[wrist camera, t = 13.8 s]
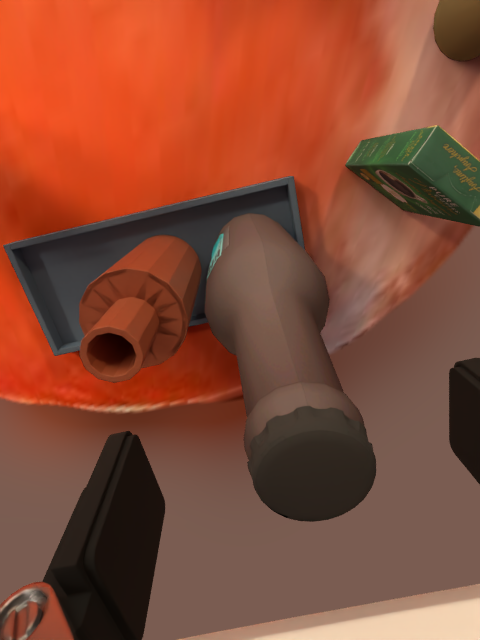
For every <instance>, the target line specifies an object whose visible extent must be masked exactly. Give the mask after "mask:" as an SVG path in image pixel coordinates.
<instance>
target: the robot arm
mask: <svg viewBox="0 0 480 640" xmlns="http://www.w3.org/2000/svg"><path fill="white" fill-rule="evenodd" d="M449 431H450V432H449V434H450V435H449V440H450V445H451V448H452V450H453V452H454V453H455V455H456V456H457V457H458V458H459V460H460V461H461V462H462V463H463V464H464V466H465V467H466V468H467V469H468V470H469V472H470V473H471V474H472V476H473V477H474V478H475V479H476V480H477V482H478V483H479V484H480V358H473V359H469V360H464V361H459V362H456V363H455V365H454V368H451V369H450V373H449ZM164 514H165V501H164V497H163V495H162V493H161V490H160V488H159V485H158V483H157V480H156V478H155V475H154V473H153V471H152V468H151V466H150V463H149V461H148V458H147V456H146V454H145V451H144V449H143V446H142V444H141V442H140V439H139V437H138V436H137V435H132V433H131V432H130V431H126V432H121V433H117V434H112V435H110V436H109V437H108V439H107V441H106V443H105V446H104V448H103V450H102V452H101V455H100V457H99V459H98V462H97V464H96V466H95V468H94V471H93V473H92V475H91V478H90V480H89V482H88V484H87V487H86V488H85V489H84V490H83V492H82V493H81V496H80V498H79V500H78V503H77V505H76V507H75V509H74V511H73V514H72V516H71V519H70V520H69V523H68V525H67V528H66V530H65V532H64V534H63V536H62V539H61V541H60V543H59V545H58V548H57V550H56V552H55V554H54V557H53V559H52V561H51V564H50V566H49V568H48V570H47V572H46V575H45V577H44V579H43V582H35V583H31V584H29V585H26V586H24V587H22V588H20V589H19V590H17V591H16V592H14V593H13V594H11V596H9V597H8V598H7V599H6V600H5V601H4V602H3V603H2V604H1V605H0V640H142V637H143V634H144V628H145V622H146V617H147V611H148V606H149V599H150V594H151V588H152V582H153V577H154V571H155V565H156V560H157V554H158V548H159V542H160V537H161V531H162V525H163V520H164ZM177 640H480V584H477V585H471V586H466V587H460V588H454V589H448V590H443V591H437V592H432V593H426V594H420V595H415V596H409V597H403V598H398V599H393V600H387V601H381V602H376V603H370V604H365V605H359V606H354V607H348V608H343V609H337V610H332V611H327V612H321V613H315V614H310V615H304V616H299V617H293V618H288V619H283V620H277V621H272V622H267V623H261V624H256V625H251V626H245V627H241V628H235V629H230V630H225V631H219V632H213V633H208V634H203V635H198V636H192V637H187V638H182V639H177Z"/></svg>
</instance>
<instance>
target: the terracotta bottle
mask: <svg viewBox="0 0 480 640" xmlns="http://www.w3.org/2000/svg"><path fill="white" fill-rule="evenodd" d="M201 271H202V270H201V264H200V260H199V258H198V256H197V254H196V252H195V251H194V249H193V248H192V247H191V246H190V245H189V244H188V243H187V242H185V241H184V240H182V239H180V238H178V237H175V236H171V235H156V236H153V237H150V238H147V239H146V240H145V241H143V242H142V243H141V244H139V245H138V246H137V247H135V248H134V249H133V250H132V251H130V252H129V253H128V254H127V255H125V256H124V257H123V258H122V259H120V260H119V261H118V262H117V263H115V264H114V265H113V266H112V267H110V268H109V269H108V270H107V271H105V272H104V273H103V274H102V275H100V276H99V277H98V278H97V279H95V280H94V281H93V282H92V283H90V284H89V285H88V287H87V289H86V291H85V293H84V295H83V297H82V299H81V301H80V303H79V324H80V326H81V328H82V331H83V333H84V336H85V337H84V338H83V339H82V340H81V346H80V352H79V355H80V358H81V360H82V362H83V365H84V367H85V368H86V370H88V371H89V372H90V373H91V374H93V375H94V376H95V377H96V378H98V379H101V380H105V381H109V382H113V383H115V382H120V381H125V380H129V379H131V378H132V377H133V376H134V375H135V374H136V373H137V372H139V371H140V369H141V368H145V367H149V366H154V365H159V364H161V363H162V362H164V361H165V360H167V359H168V358H170V357H171V356H173V355H174V354H175V353H176V352H177V351H178V349H179V347H180V346H181V344H182V343H183V341H184V340H185V337H186V334H187V330H188V326H189V322H190V319H191V315H192V311H193V307H194V303H195V300H196V296H197V292H198V288H199V285H200V279H201Z"/></svg>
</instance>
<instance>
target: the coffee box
mask: <svg viewBox="0 0 480 640" xmlns="http://www.w3.org/2000/svg"><path fill="white" fill-rule="evenodd" d="M345 166H346V167H348V168H349V169H350V170H352V171H353V172H354V173H355V174H357V175H358V176H359V177H361V178H362V179H364V180H365V181H366V182H368V183H369V184H370V185H371V186H373V187H374V188H375V189H376V190H378V191H379V192H380V193H382V194H383V195H384V196H386V197H387V198H388V199H390V200H391V201H392V202H393V203H395V204H396V205H397V206H399V207H400V208H401V209H402V210H405V211H409V212H413V213H418V214H422V215H427V216H432V217H437V218H442V219H447V220H451V221H456V222H461V223H465V224H470V225H475V226H480V161H479V160H478V159H477V158H476V157H475V156H474V155H472V154H471V153H470V152H469V151H468V150H467V149H466V148H464V147H463V146H462V145H461V144H460V143H459V142H458V141H456V140H455V139H454V138H453V137H452V136H450V135H449V134H448V133H447V132H446V131H445V130H443V129H442V128H441V127H440V126H438V125H436V126H431V127H426V128H422V129H417V130H411V131H406V132H402V133H397V134H392V135H386V136H381V137H376V138H371V139H366V140H362V141H361V142H360V143H359V145H358V146H357V148H356V149H355V150H354V152H353V153H352V155H351V156H350V157H349V159H348V160H347V163H346V165H345Z"/></svg>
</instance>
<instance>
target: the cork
mask: <svg viewBox="0 0 480 640" xmlns="http://www.w3.org/2000/svg"><path fill="white" fill-rule="evenodd" d="M433 29H434V35H435V40H436V43H437V44H438V46H439V48H440V50H441V51H442V52H443V53H444V54H445V55H446V56H447V57H449V58H451V59H454V60H458V61H463V60H470V59H473V58H475V57H477V56H479V55H480V0H440V1H439V4H438V7H437V10H436V12H435V17H434V27H433Z"/></svg>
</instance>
